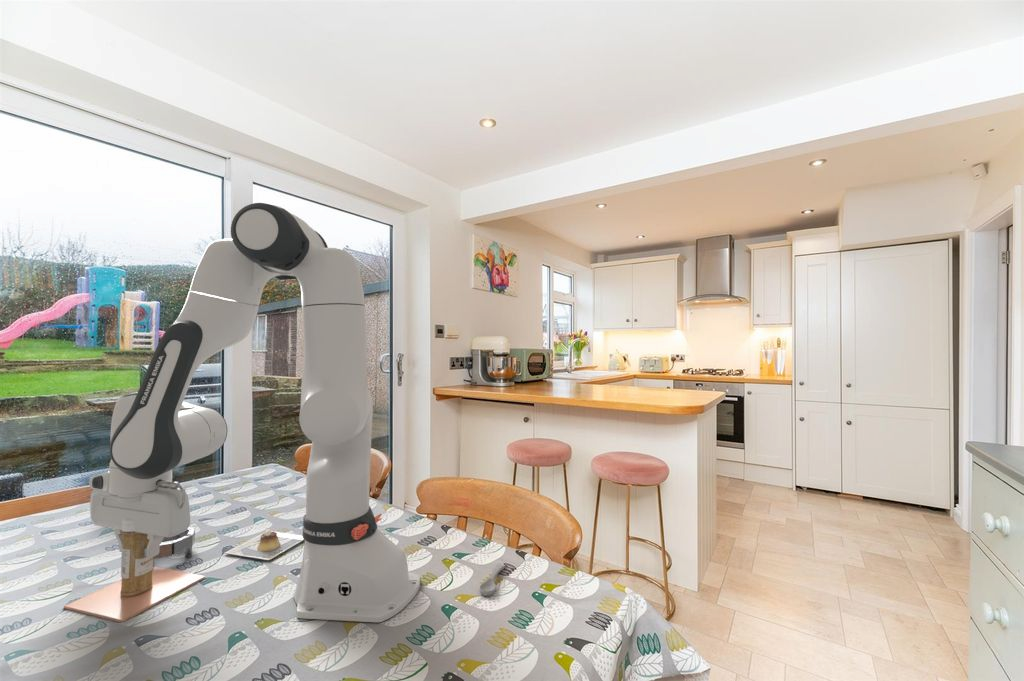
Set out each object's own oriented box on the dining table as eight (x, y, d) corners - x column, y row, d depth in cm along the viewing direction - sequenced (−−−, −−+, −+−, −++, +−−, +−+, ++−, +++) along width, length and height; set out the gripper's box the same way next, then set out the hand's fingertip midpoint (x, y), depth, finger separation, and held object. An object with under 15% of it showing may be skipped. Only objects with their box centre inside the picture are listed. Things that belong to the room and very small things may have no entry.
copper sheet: (205, 578, 82) (205, 576, 82) (122, 622, 69) (122, 620, 69) (152, 567, 86) (152, 565, 86) (63, 608, 72) (63, 605, 72)
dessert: (268, 534, 103) (268, 515, 103) (309, 540, 100) (310, 520, 100) (223, 558, 91) (224, 535, 92) (268, 565, 88) (269, 542, 89)
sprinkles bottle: (150, 592, 77) (152, 517, 77) (116, 600, 74) (119, 523, 74) (154, 581, 80) (156, 509, 81) (122, 588, 78) (124, 514, 78)
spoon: (476, 598, 77) (476, 586, 77) (494, 570, 88) (494, 560, 88) (492, 600, 76) (492, 588, 76) (508, 571, 87) (508, 561, 88)
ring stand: (204, 550, 94) (204, 529, 94) (158, 571, 84) (158, 549, 85) (172, 544, 96) (172, 524, 96) (123, 565, 87) (124, 543, 87)
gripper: (201, 478, 78) (199, 553, 78) (122, 468, 84) (119, 539, 83) (165, 488, 72) (163, 570, 72) (82, 477, 78) (79, 554, 77)
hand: (139, 553), depth 78 cm, fingers open, 5 cm apart
